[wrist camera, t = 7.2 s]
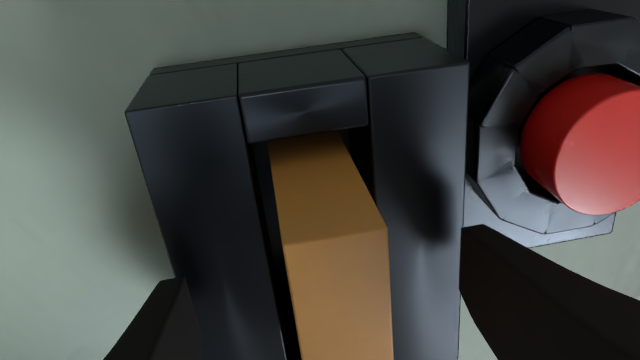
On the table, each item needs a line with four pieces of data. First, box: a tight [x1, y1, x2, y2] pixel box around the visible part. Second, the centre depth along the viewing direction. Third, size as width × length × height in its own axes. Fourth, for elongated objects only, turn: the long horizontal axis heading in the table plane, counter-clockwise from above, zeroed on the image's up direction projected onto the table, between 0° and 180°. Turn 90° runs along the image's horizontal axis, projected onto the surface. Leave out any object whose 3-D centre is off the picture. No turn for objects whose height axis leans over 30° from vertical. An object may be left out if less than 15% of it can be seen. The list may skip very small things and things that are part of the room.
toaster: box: [125, 33, 470, 360], centre depth 15 cm, size 10×8×4 cm
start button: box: [520, 73, 640, 215], centre depth 13 cm, size 4×4×2 cm
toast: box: [267, 131, 394, 360], centre depth 13 cm, size 6×2×6 cm, turn 6°
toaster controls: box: [448, 0, 640, 248], centre depth 15 cm, size 10×6×3 cm, turn 6°
